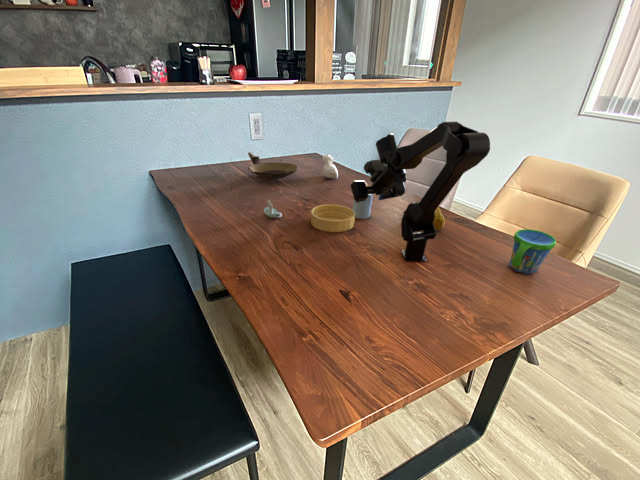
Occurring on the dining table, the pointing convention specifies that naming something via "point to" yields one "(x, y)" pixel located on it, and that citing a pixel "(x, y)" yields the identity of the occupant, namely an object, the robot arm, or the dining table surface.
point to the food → (438, 219)
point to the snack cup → (530, 250)
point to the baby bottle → (363, 207)
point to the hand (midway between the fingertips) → (367, 200)
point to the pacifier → (271, 211)
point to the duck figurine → (329, 167)
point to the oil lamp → (271, 168)
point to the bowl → (332, 218)
